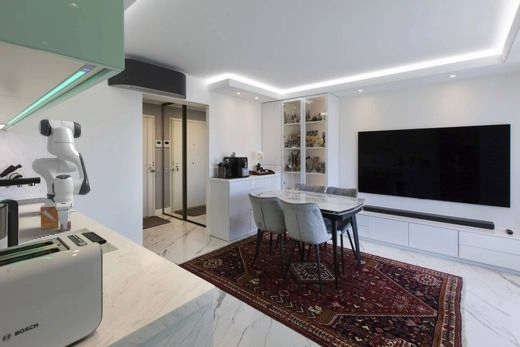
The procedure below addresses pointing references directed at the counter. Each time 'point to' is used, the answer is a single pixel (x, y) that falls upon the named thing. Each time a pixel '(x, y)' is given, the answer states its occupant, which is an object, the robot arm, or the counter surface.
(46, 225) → the small box
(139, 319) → the counter surface
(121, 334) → the counter surface
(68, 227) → the walnut cube
